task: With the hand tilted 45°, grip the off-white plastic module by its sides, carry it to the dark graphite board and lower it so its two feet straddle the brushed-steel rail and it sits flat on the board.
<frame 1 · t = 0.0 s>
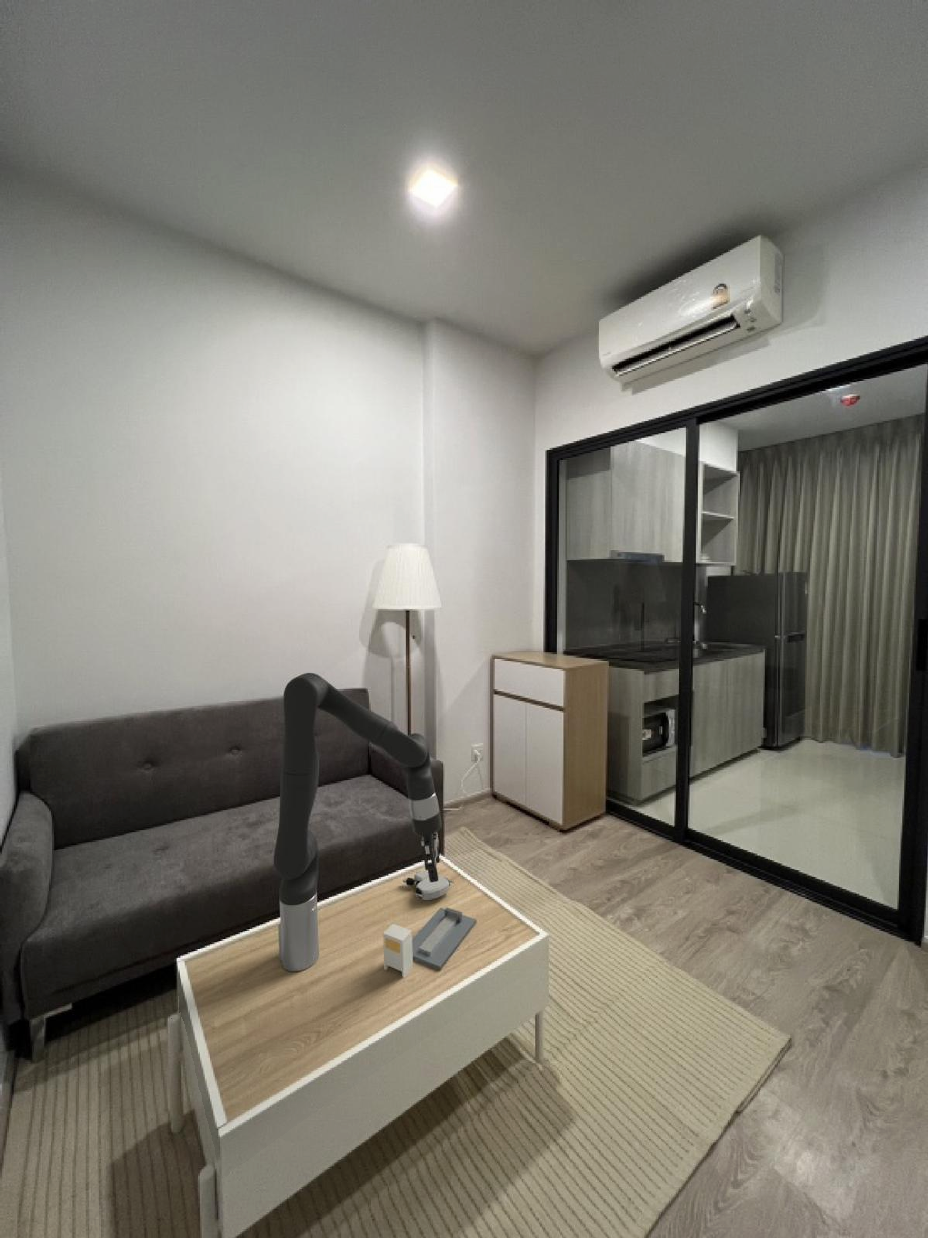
hand: (435, 871, 126), 22 cm above the table, tool pointing down, fingers open, 8 cm apart
robot toy: (428, 891, 155), on the table
rail: (440, 930, 133), on the rail board, point 2 cm above the table
rail board: (440, 938, 133), on the table
module: (398, 967, 123), on the table
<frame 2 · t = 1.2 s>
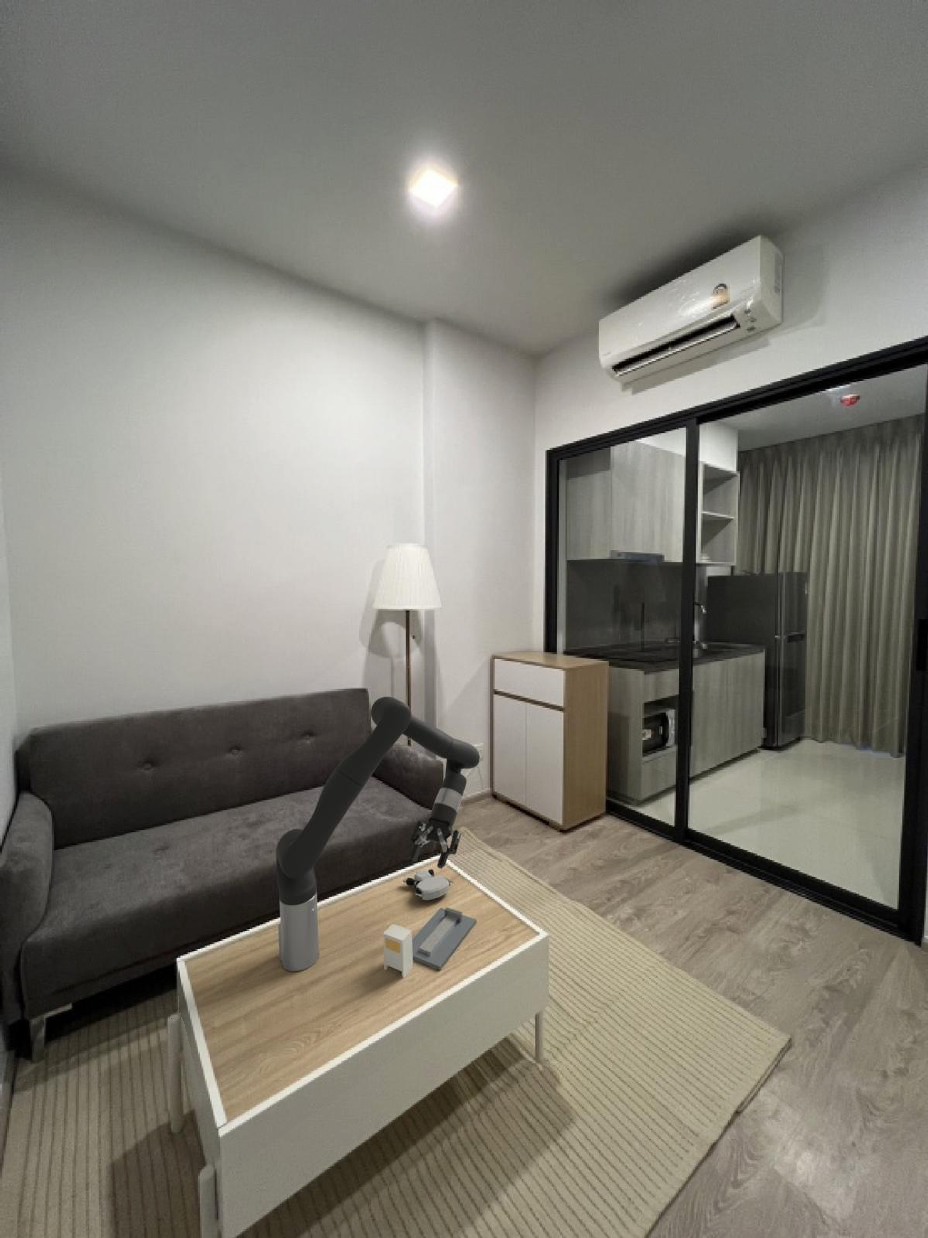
hand: (426, 864, 135), 20 cm above the table, tool tilted 45°, fingers open, 8 cm apart
nothing on the table moved.
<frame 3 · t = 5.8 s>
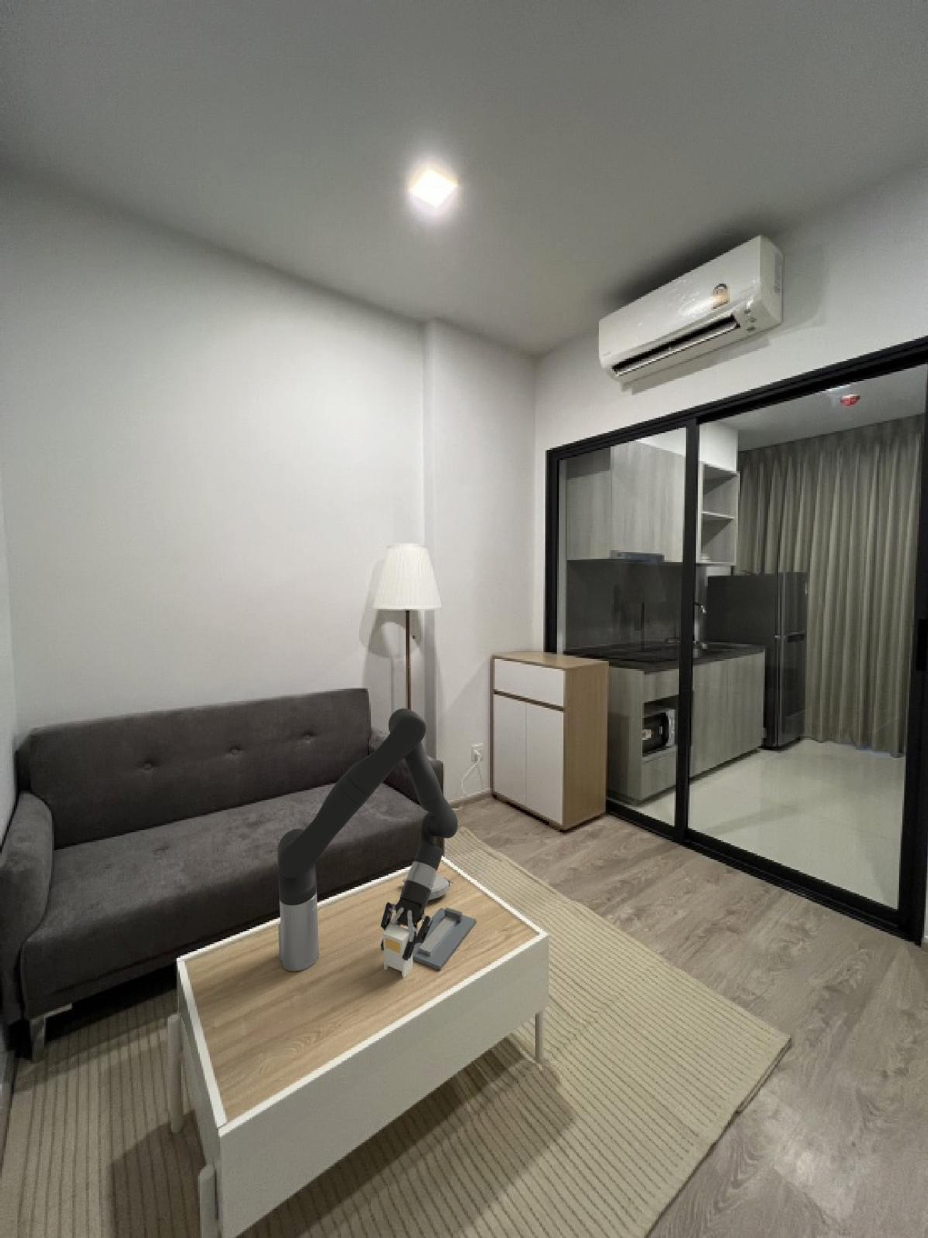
hand: (394, 955, 121), 5 cm above the table, tool tilted 45°, fingers closed on module, 6 cm apart
module: (398, 967, 123), on the table, touching gripper
everything else where it was.
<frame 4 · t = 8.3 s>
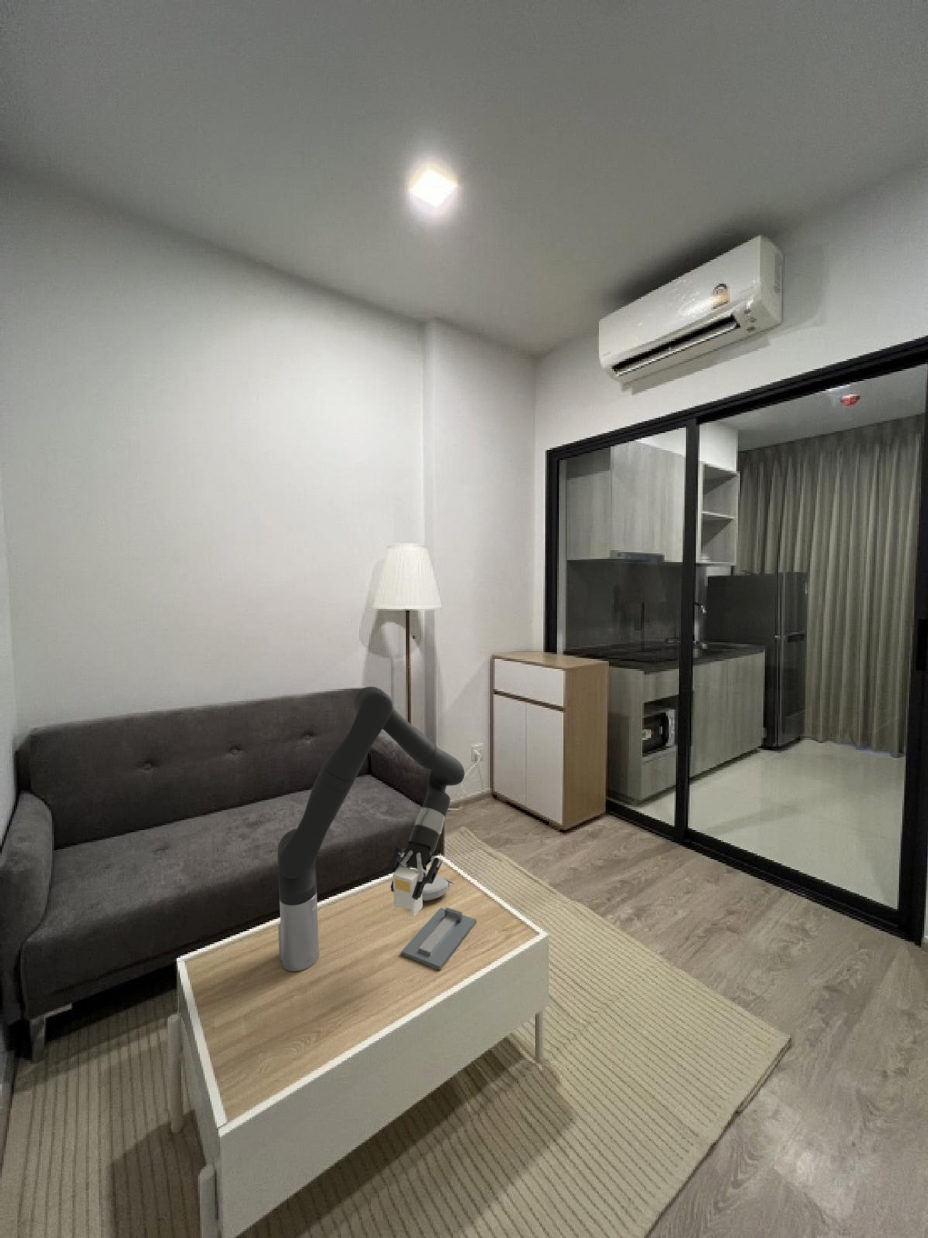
hand: (404, 895, 123), 19 cm above the table, tool tilted 45°, fingers closed on module, 6 cm apart
module: (408, 908, 124), point 14 cm above the table, touching gripper
everything else where it was.
when the fingers open (7 cm above the table, at t = 10.9 s): module drops 1 cm, resting on rail board.
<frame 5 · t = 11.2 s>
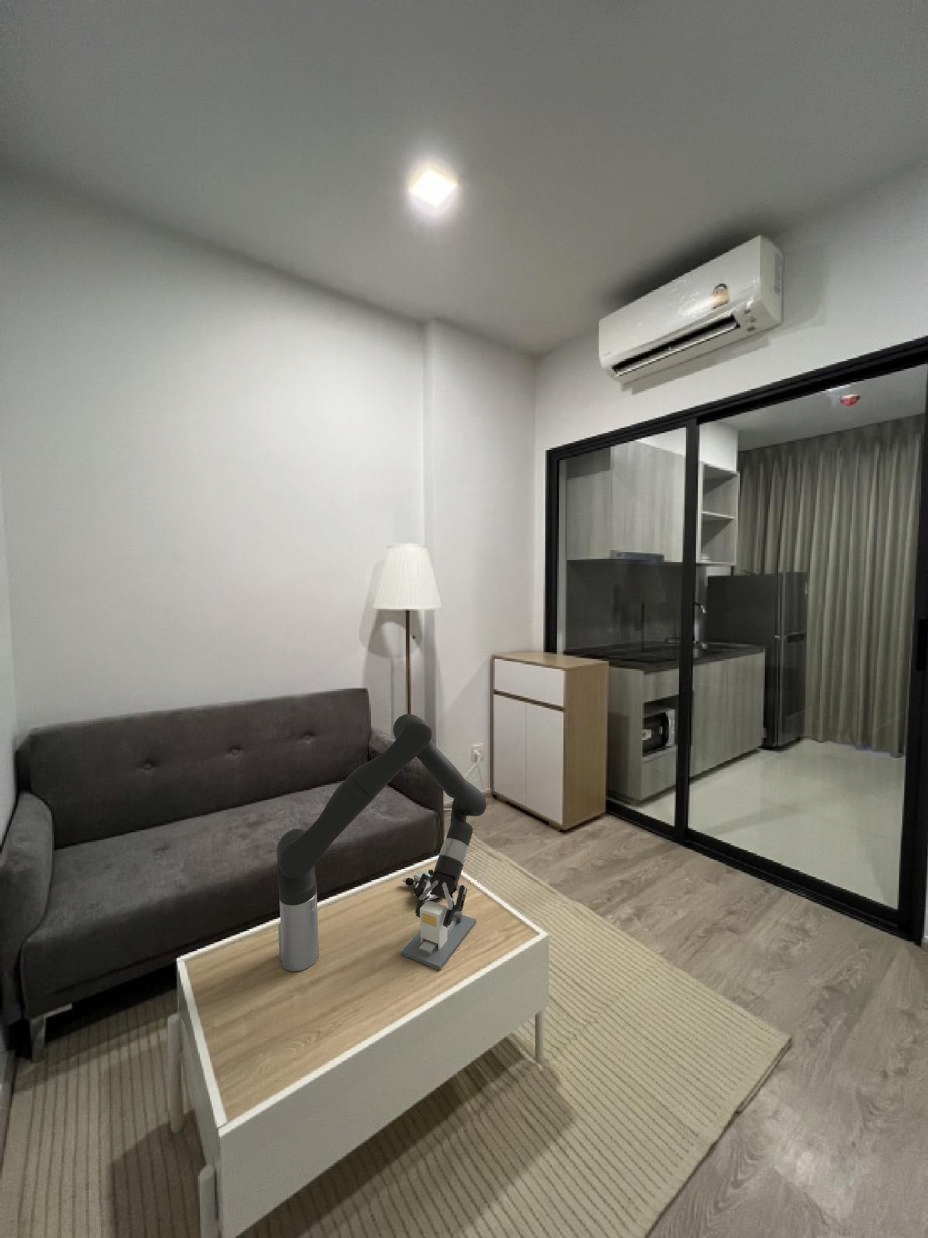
hand: (431, 921, 129), 7 cm above the table, tool tilted 45°, fingers open, 8 cm apart
module: (434, 941, 131), point 1 cm above the table, touching rail board
everything else where it was.
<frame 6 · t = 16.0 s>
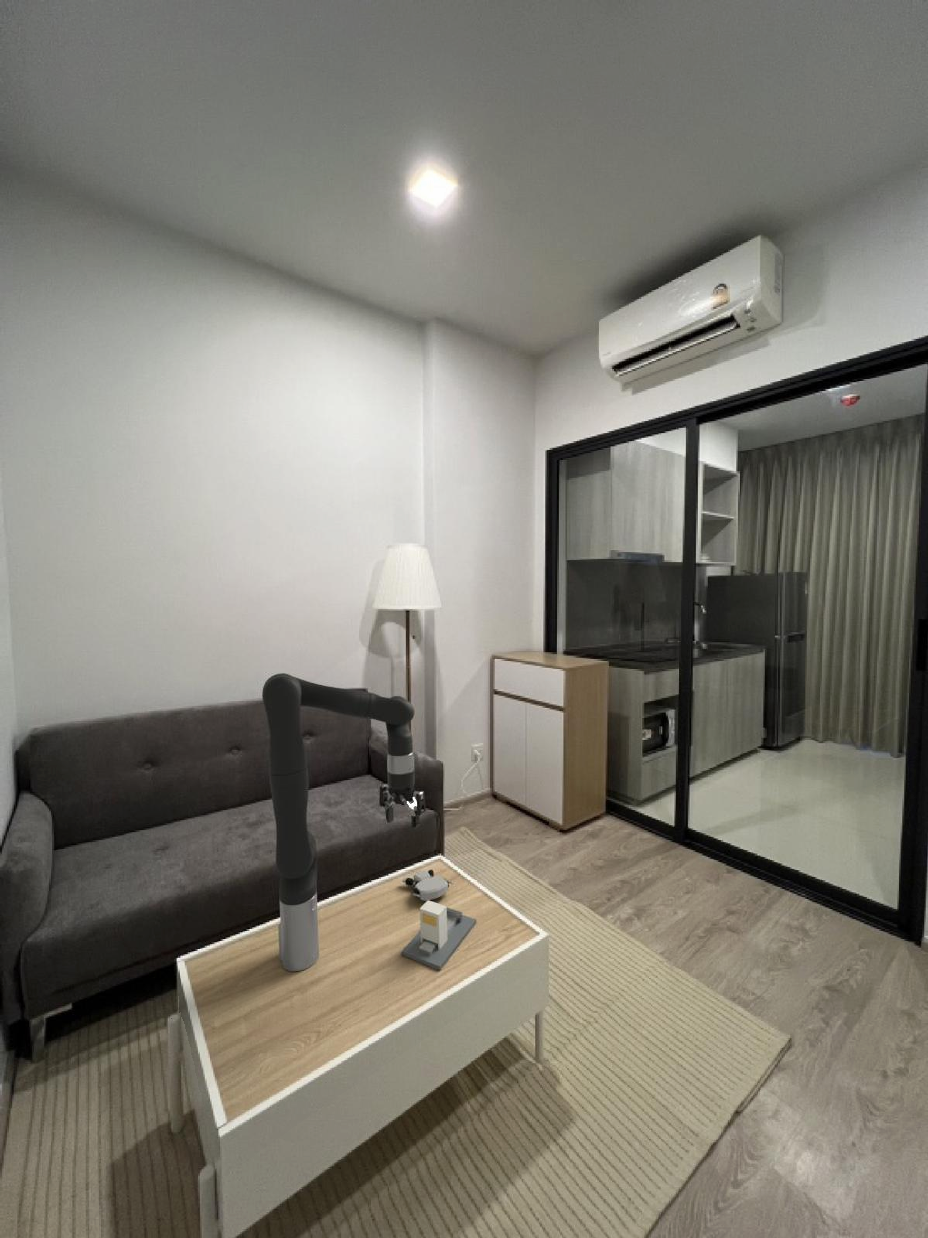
hand: (402, 824, 136), 30 cm above the table, tool pointing down, fingers open, 8 cm apart
nothing on the table moved.
at the end: module inside the target area on the rail board (3.0 cm from its centre), point 1.0 cm above the rail board's base; module tilted 0°; the gripper is holding nothing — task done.
